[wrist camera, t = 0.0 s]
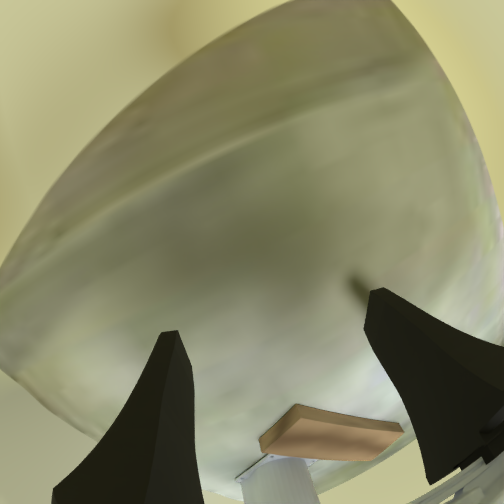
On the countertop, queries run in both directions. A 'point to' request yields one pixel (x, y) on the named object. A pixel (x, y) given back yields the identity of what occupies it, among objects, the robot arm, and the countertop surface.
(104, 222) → the countertop surface
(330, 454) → the walnut board
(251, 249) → the countertop surface
